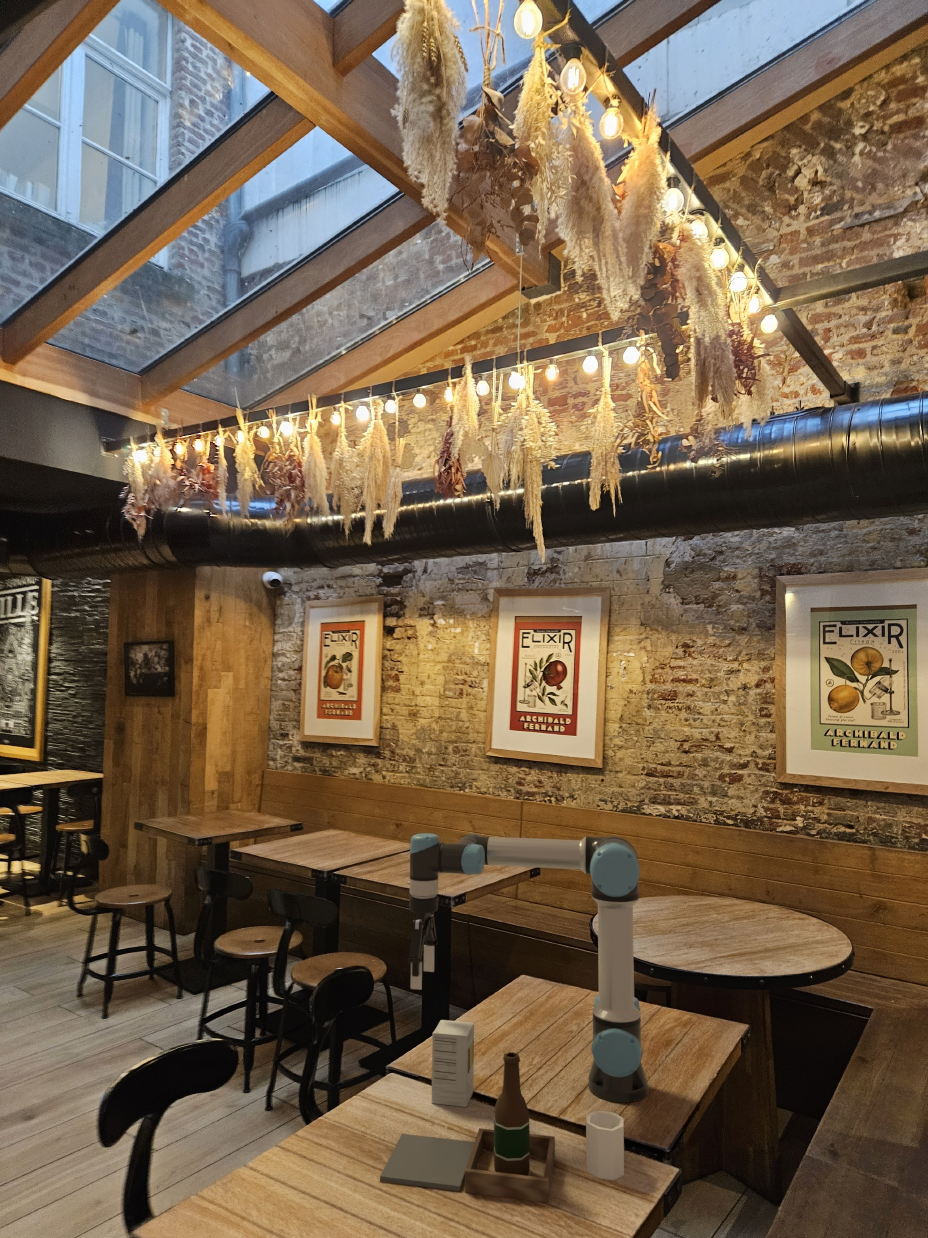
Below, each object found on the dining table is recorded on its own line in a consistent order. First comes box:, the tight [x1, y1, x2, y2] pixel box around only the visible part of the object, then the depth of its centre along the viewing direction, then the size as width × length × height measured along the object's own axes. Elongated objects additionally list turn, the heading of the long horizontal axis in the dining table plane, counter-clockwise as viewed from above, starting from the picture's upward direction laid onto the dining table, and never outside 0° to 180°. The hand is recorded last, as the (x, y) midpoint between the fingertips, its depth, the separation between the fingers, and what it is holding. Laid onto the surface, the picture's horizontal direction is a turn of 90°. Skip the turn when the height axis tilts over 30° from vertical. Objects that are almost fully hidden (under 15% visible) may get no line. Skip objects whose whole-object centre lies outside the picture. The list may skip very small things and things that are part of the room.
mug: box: [585, 1109, 625, 1181], centre depth 175 cm, size 12×9×10 cm
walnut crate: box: [464, 1127, 556, 1203], centre depth 171 cm, size 17×17×4 cm
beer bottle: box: [493, 1051, 530, 1176], centre depth 172 cm, size 8×8×24 cm
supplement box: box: [431, 1019, 475, 1108], centre depth 204 cm, size 10×9×17 cm
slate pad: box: [379, 1133, 475, 1192], centre depth 174 cm, size 17×17×1 cm
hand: (422, 980), depth 208 cm, fingers open, 13 cm apart
